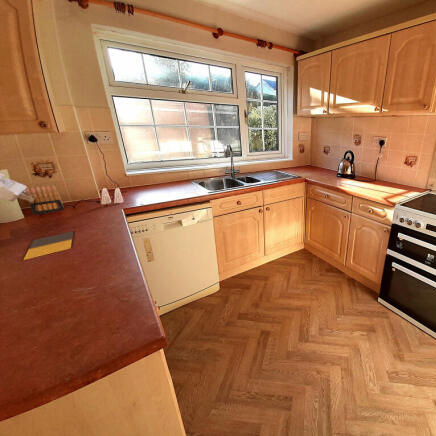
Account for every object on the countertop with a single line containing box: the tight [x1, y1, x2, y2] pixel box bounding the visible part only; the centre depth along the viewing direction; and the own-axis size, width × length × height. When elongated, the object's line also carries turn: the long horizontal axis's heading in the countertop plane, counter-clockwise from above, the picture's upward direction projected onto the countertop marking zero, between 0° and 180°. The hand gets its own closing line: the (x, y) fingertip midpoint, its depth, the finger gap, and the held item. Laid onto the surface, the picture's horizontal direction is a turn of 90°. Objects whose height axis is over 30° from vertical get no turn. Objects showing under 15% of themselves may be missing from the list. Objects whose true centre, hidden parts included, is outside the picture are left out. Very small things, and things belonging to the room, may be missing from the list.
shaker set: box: [100, 187, 125, 206], centre depth 158 cm, size 12×4×11 cm, turn 128°
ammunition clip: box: [25, 184, 66, 215], centre depth 111 cm, size 11×2×12 cm, turn 128°
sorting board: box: [22, 231, 75, 261], centre depth 105 cm, size 14×22×1 cm, turn 37°
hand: (34, 199), depth 109 cm, fingers closed on ammunition clip, 2 cm apart
